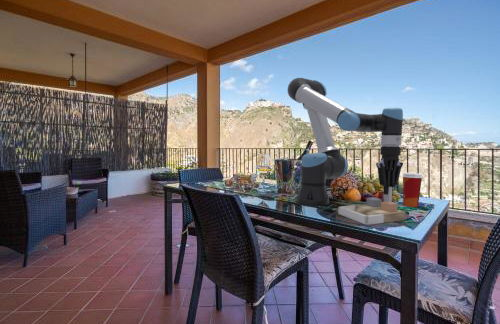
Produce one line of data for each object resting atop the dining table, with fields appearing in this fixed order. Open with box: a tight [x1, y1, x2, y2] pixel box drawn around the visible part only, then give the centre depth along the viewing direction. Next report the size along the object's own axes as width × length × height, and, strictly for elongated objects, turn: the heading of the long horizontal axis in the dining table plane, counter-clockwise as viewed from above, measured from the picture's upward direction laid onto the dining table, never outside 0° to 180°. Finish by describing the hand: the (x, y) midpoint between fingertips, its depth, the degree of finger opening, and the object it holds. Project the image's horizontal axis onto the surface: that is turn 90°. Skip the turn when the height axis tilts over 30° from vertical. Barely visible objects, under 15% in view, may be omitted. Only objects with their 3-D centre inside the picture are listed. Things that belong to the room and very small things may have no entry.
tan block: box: [381, 201, 399, 212], centre depth 104 cm, size 4×4×3 cm
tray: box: [337, 204, 384, 226], centre depth 103 cm, size 15×8×3 cm, turn 21°
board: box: [354, 203, 407, 224], centre depth 107 cm, size 15×11×3 cm
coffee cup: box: [401, 172, 423, 208], centre depth 124 cm, size 8×8×15 cm
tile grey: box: [365, 197, 383, 207], centre depth 111 cm, size 4×4×3 cm
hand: (387, 201), depth 114 cm, fingers closed
